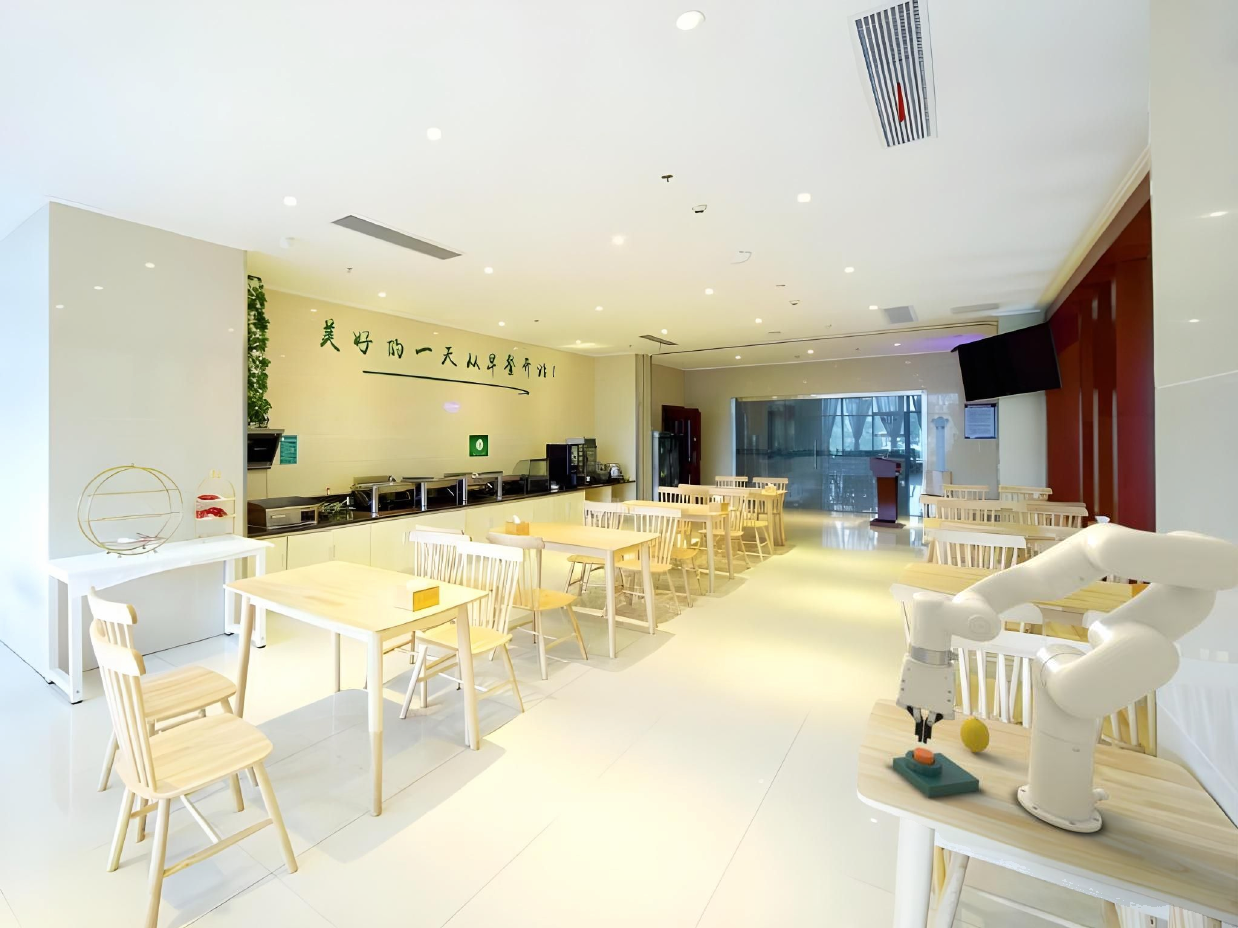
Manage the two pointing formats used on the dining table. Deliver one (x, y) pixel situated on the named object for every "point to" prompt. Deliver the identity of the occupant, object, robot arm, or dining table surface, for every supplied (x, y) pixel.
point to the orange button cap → (923, 756)
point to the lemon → (974, 735)
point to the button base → (935, 775)
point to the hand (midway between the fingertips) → (922, 739)
